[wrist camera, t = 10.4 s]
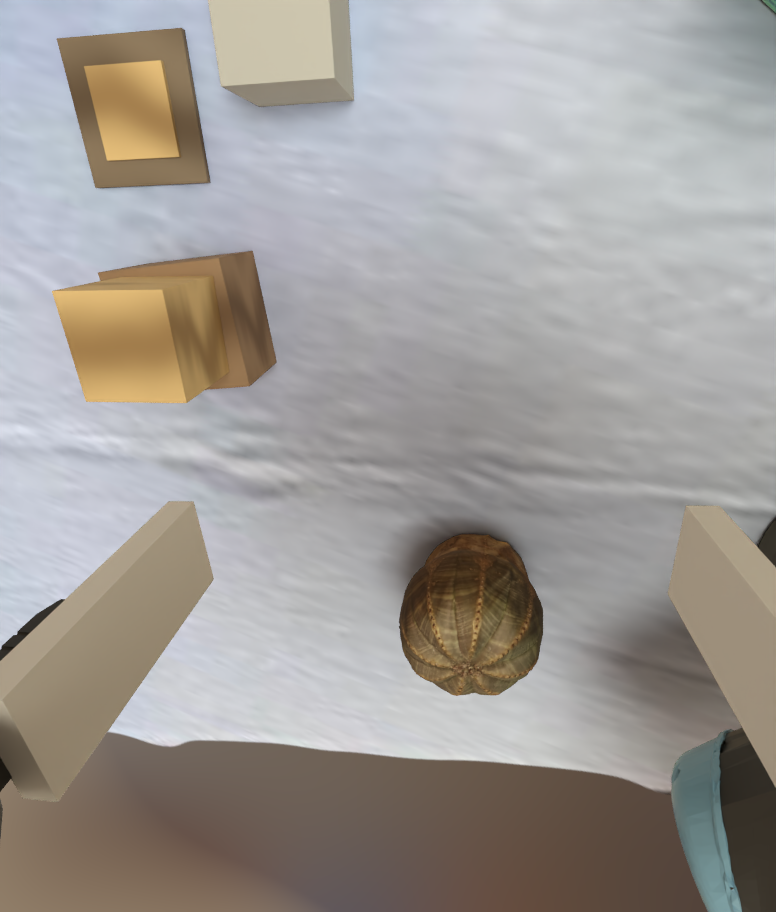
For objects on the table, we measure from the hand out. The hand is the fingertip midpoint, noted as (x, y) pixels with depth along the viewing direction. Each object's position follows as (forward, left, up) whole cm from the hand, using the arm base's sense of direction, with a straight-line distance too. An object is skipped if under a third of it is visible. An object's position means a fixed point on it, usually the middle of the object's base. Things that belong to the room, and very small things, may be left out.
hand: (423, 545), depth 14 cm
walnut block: (+2, +17, -26) cm, 31 cm away
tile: (+14, +19, -25) cm, 35 cm away
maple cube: (+2, +17, -19) cm, 26 cm away
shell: (-21, -3, -26) cm, 33 cm away
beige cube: (+17, +8, -25) cm, 32 cm away
